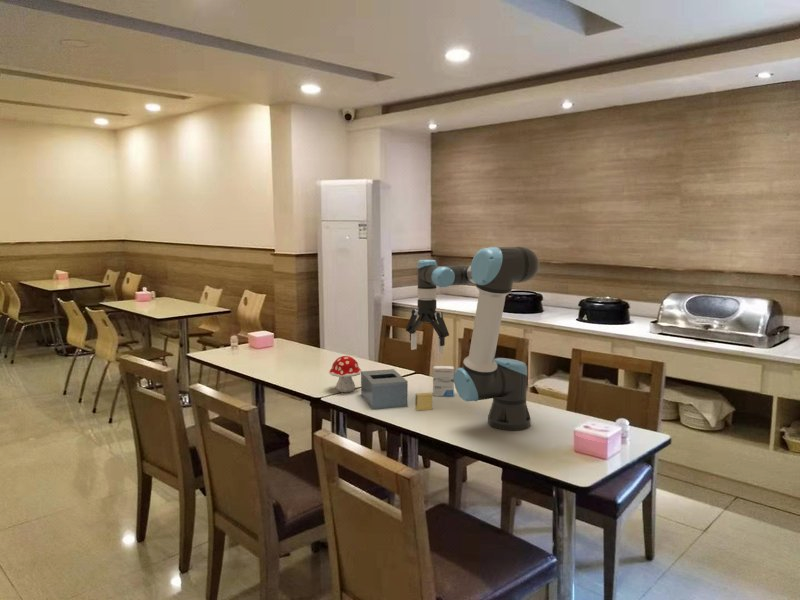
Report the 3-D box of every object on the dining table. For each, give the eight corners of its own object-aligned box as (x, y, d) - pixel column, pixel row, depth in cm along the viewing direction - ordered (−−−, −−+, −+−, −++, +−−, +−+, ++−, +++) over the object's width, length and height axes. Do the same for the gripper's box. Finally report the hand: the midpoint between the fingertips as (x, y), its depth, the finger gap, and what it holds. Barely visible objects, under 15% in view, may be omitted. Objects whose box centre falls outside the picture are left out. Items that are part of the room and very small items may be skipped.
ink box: (453, 393, 249) (454, 365, 247) (453, 396, 244) (453, 368, 242) (433, 392, 250) (433, 365, 248) (432, 396, 245) (433, 368, 243)
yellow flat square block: (432, 409, 227) (432, 394, 227) (417, 410, 226) (417, 395, 225) (430, 407, 230) (430, 392, 229) (415, 409, 228) (415, 393, 227)
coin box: (407, 406, 231) (407, 381, 230) (372, 409, 227) (372, 384, 226) (393, 392, 250) (393, 369, 249) (361, 394, 246) (361, 371, 245)
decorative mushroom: (323, 393, 248) (322, 358, 246) (338, 384, 261) (337, 351, 259) (353, 396, 243) (353, 361, 242) (367, 388, 256) (366, 354, 254)
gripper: (458, 300, 229) (457, 354, 232) (409, 295, 246) (409, 346, 248) (446, 302, 224) (446, 357, 226) (397, 297, 240) (397, 348, 243)
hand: (426, 351), depth 237 cm, fingers open, 13 cm apart
